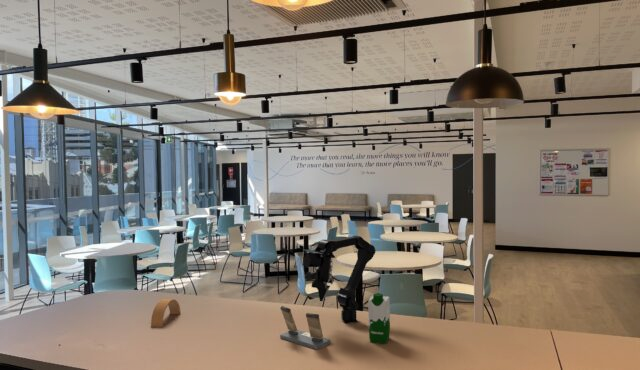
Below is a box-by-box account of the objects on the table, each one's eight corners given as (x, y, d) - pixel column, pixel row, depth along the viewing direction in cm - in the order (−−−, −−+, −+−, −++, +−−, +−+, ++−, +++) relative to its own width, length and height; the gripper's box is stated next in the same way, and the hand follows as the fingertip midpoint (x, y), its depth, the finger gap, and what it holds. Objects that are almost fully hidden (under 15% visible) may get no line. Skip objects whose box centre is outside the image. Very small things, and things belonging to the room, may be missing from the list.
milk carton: (367, 342, 187) (366, 295, 187) (371, 335, 196) (371, 289, 195) (388, 344, 184) (387, 296, 184) (391, 337, 193) (391, 291, 192)
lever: (290, 327, 198) (283, 305, 195) (297, 330, 193) (289, 307, 191) (287, 329, 196) (279, 307, 194) (294, 332, 192) (286, 310, 190)
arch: (181, 313, 232) (180, 294, 232) (162, 327, 212) (161, 306, 212) (170, 313, 233) (170, 294, 232) (150, 326, 213) (150, 305, 213)
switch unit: (294, 332, 201) (294, 326, 201) (330, 343, 188) (330, 337, 187) (280, 338, 194) (280, 332, 194) (317, 349, 181) (316, 343, 181)
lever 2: (312, 334, 188) (307, 311, 185) (323, 336, 186) (318, 313, 182) (310, 337, 187) (305, 314, 183) (321, 339, 184) (316, 316, 181)
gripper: (312, 263, 218) (309, 295, 217) (302, 267, 200) (298, 302, 199) (334, 266, 215) (331, 298, 214) (326, 270, 197) (323, 305, 196)
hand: (321, 301), depth 206 cm, fingers closed
